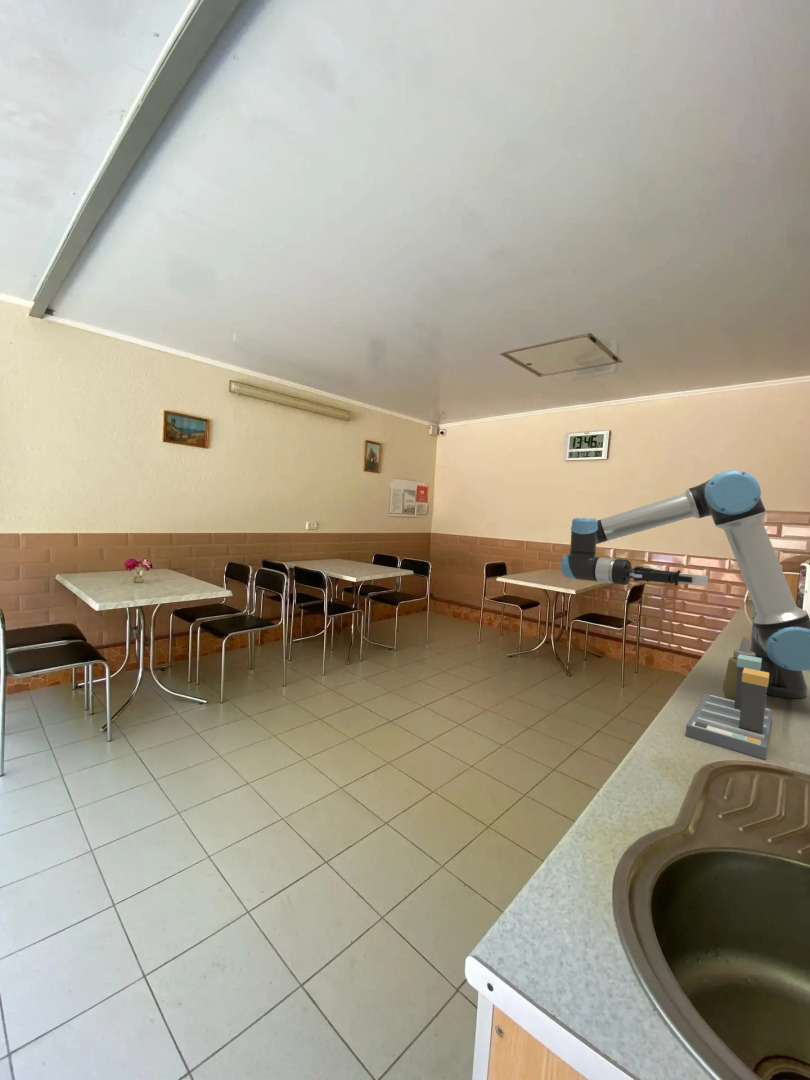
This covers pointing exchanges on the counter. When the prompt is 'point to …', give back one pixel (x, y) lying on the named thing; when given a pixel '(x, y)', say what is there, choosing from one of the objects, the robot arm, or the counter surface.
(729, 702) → the console
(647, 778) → the counter surface
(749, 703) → the orange capped grey block
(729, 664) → the squeeze bottle
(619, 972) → the counter surface
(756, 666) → the mint capped grey block
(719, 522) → the robot arm
